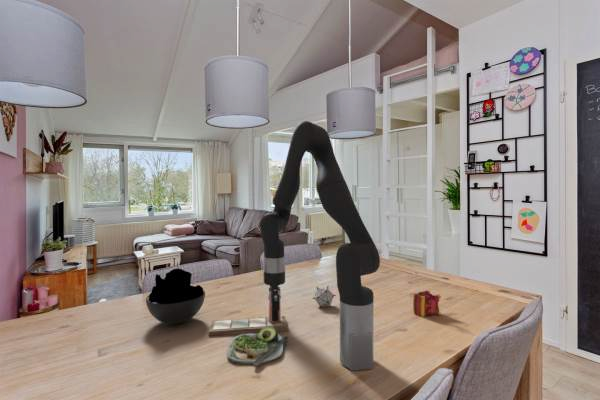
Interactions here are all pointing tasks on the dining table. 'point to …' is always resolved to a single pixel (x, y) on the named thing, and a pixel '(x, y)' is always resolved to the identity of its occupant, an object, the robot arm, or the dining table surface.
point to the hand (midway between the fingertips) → (274, 317)
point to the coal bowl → (175, 297)
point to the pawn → (271, 312)
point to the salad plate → (257, 346)
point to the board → (244, 326)
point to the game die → (323, 297)
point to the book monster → (426, 303)
